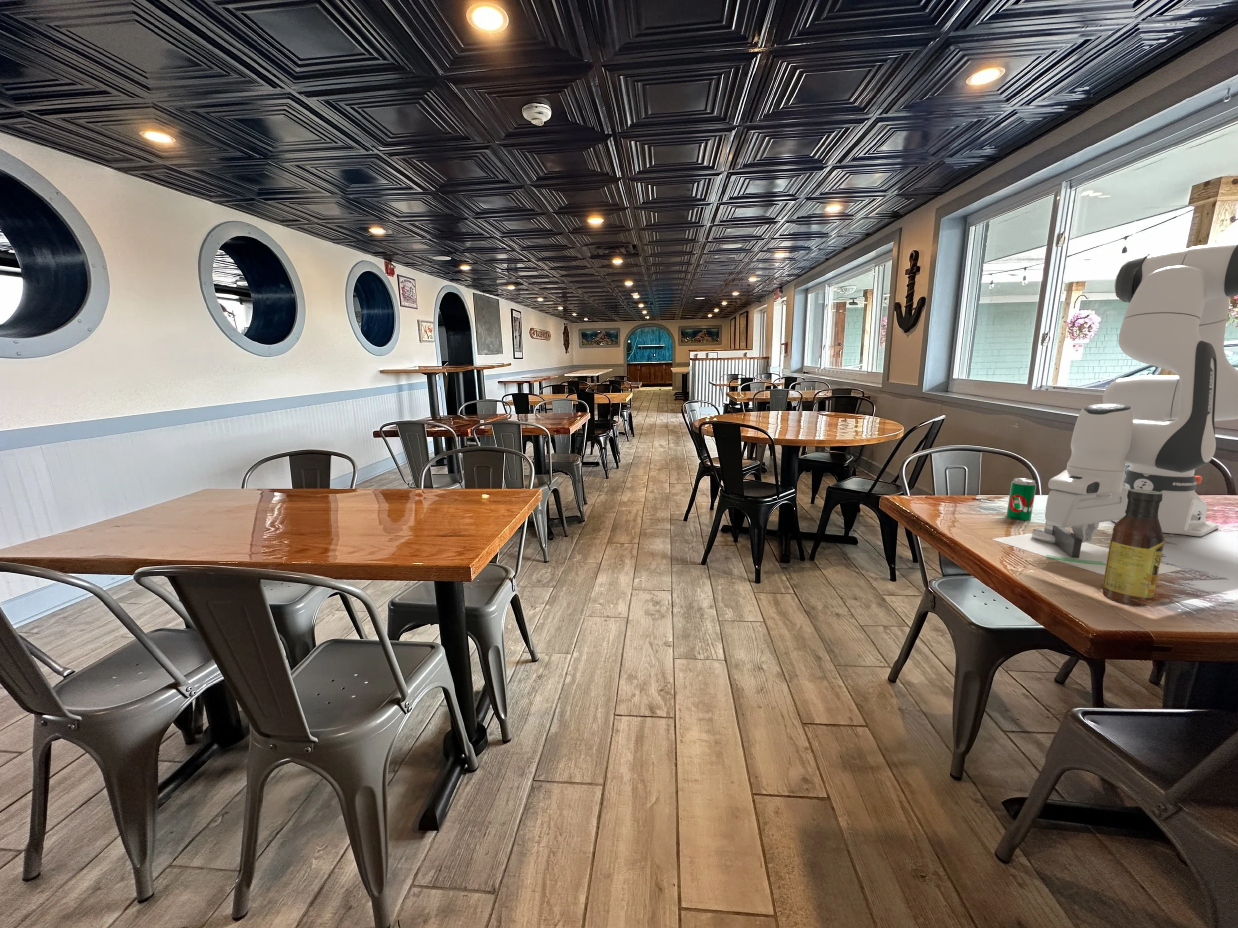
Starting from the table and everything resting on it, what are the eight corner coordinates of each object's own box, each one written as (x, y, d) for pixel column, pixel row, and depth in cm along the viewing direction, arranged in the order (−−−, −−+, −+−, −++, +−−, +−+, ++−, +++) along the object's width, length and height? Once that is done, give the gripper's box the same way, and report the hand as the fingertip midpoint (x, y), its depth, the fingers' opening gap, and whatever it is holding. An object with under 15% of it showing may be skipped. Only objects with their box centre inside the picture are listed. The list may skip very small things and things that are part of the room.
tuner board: (1044, 537, 116) (1045, 530, 115) (1181, 576, 93) (1183, 568, 93) (988, 545, 110) (989, 538, 110) (1119, 588, 88) (1121, 580, 88)
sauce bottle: (1158, 611, 79) (1183, 498, 76) (1106, 602, 83) (1128, 493, 79) (1142, 596, 85) (1165, 489, 81) (1095, 588, 88) (1115, 485, 84)
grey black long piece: (1026, 532, 113) (1029, 515, 113) (1064, 536, 111) (1067, 518, 110) (1053, 555, 100) (1057, 534, 99) (1097, 560, 97) (1101, 539, 96)
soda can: (1020, 520, 129) (1027, 477, 127) (1034, 526, 124) (1042, 481, 122) (1001, 519, 129) (1007, 477, 127) (1014, 525, 124) (1021, 481, 122)
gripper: (1107, 473, 106) (1096, 532, 109) (1043, 480, 101) (1033, 542, 103) (1144, 479, 100) (1131, 541, 103) (1078, 487, 95) (1067, 552, 97)
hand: (1081, 541), depth 103 cm, fingers closed
